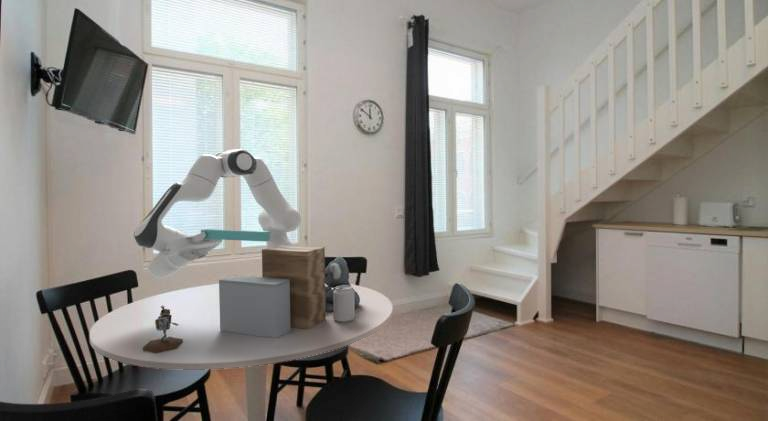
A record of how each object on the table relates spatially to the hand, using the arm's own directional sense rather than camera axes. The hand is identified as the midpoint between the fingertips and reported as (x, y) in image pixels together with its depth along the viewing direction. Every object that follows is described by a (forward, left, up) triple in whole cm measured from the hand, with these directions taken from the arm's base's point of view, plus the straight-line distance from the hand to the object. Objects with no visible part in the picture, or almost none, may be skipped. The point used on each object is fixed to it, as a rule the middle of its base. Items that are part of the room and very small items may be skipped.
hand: (210, 232), depth 142 cm
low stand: (0, +18, -32) cm, 37 cm away
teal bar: (0, +10, -2) cm, 10 cm away
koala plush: (-35, +31, -32) cm, 57 cm away
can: (-20, +41, -32) cm, 56 cm away
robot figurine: (+21, +1, -32) cm, 39 cm away
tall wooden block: (-13, +25, -32) cm, 43 cm away
